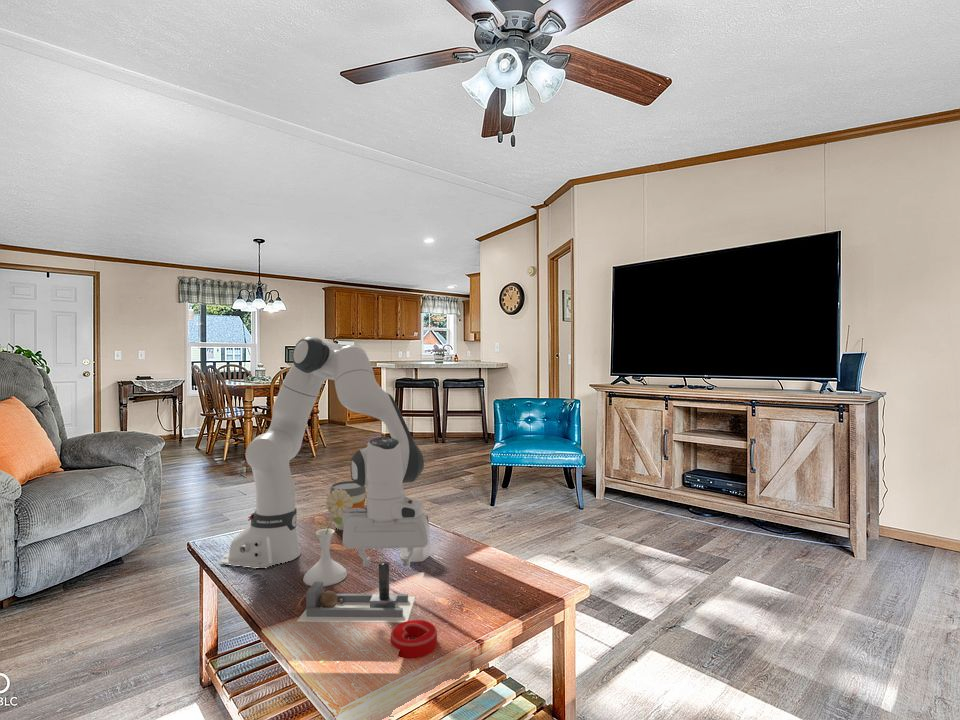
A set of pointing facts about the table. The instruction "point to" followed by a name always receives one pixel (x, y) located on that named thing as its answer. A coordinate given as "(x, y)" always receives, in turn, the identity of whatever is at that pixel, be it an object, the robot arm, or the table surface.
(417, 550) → the jar
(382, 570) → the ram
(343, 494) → the flower in vase
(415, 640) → the decorative ornament
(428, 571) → the table surface
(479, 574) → the table surface
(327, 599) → the brown ball
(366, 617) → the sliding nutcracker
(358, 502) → the reusable coffee cup
